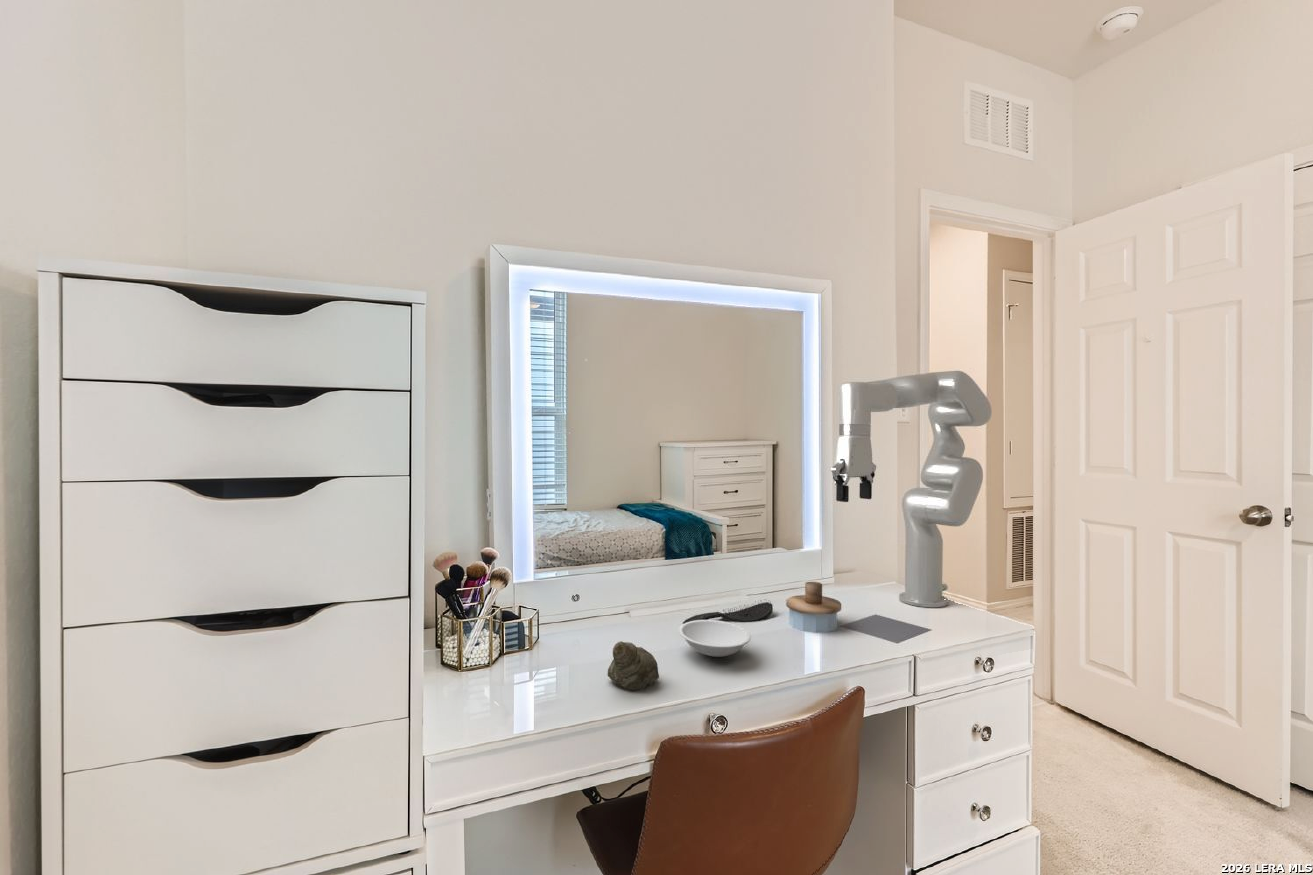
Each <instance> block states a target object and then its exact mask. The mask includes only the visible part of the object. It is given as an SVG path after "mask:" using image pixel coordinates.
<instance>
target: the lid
mask: <svg viewBox="0 0 1313 875" xmlns="http://www.w3.org/2000/svg"><path fill="white" fill-rule="evenodd" d="M804 586H805V587H804V594H798V595H792V596H790V597H788V598H787V599H786V600H785V602H786V603H785V606H786V607H787V608H788V609H791V610H794V611H797V612H801V613H807V614H820V615H822V614H833V613H837V614H838V613H839V612H840V611H842V602H841V601H839V600H837V599H835V598H831V597H828V596H823V583H822V582H817V581H806V582H804Z"/></svg>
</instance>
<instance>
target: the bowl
mask: <svg viewBox="0 0 1313 875" xmlns="http://www.w3.org/2000/svg"><path fill="white" fill-rule="evenodd" d="M788 609H789V608H788ZM788 613H789V614H788V615H789V616H788V621H789V622H788V624H789V625H790V627H792V629H795V630H799V631H802V632H807V633H814V634H815V633H816V634H820V633H821V634H822V633H830V632H833V631H836V630H837V628H838V612H837V613H833V614H822V615H820V614H807V613H801V612H797V611H794V610H791V609H789V612H788Z"/></svg>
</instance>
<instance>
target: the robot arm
mask: <svg viewBox="0 0 1313 875" xmlns="http://www.w3.org/2000/svg"><path fill="white" fill-rule="evenodd" d="M838 394H839V395H838V396H839V402H838V403H839V404H838V406H839V407H838V409H839V410H838V412H839V414H838V416H839V418H838V419H839V420H838V421H839V423H838V426H839V428H838V437H837V440H836V446H835V451H834V452H835V453H834V463H833V464H834V465H833V466H832V467H831V469H830V470H831V473H832V479H833V481H834V485H835V486H836V488H835V490H836V491H835V492H836V493H835V498H836V499H835V500H836V501H837V502H840V503H849V501H850V500H849V498H850V494H849V493H850V491H849V490H850V489H849V488H850V487H849V485H848V483H849V482H850V479H853V478H859V480H860V481H861V482H859V499H864V500H872V496H873V495H872V493H873V490H872V489H873V488H872V486H873V483H874V478H875V476H876V474H875V473H876V470H877V464H875V463H874V462H873V450H872V442H871V441H872V440H871V436H872V435H871V434H872V433H871V431H872V430H871V429H872V426H871V424H872V413H881V412H883V413H884V412H889V411H891V410H893V409H904V408H913V407H918V406H923V405H928V409H927V414H928V415H927V416H928V420H929V423H930V427H931V431H932V436H933V441H932V445H931V447H930V449H929V452H928V455H927V456H926V459H925V461H924V464H923V465H922V468H921V470H920V481H921V483H922V485H924V486H926V487H914V488H911V489H909V490H907V491H906V492H905V493H904V495H903V497H902V500H901V508H902V513H903V519H904V520H903V521H904V526H905V527H904V528H905V529H904V530H905V545H904V546H905V547H904V548H905V553H904V554H905V555H904V557H905V558H904V560H905V562H904V565H905V566H904V568H905V569H904V591H903V592H901V593H899V595H898V600H900V602H902V603H904V604H907V605H911V606H916V607H921V608H943V607H946V606H948V604H949V599H948V598H947V597H945V596H944V595H943V592H945V591H947V590H948V587H949V586H948V585H947V584H946V583H943V560H944V559H943V551H944V550H943V549H944V548H943V547H944V542H943V541H944V540H943V536H942V532H941V531H940V529H939V527H938V525H940V526H947V527H960V526H963V525H964V524H966V523H967V521H968V519H969V517H970V516H971V513H972V511H973V508H974V505H975V502H976V500H977V497H978V496H979V493H980V490H981V487H982V484H983V478H984V471H983V467H982V465H981V463H980V462H979V461H978V460H976V459H975V458H972V457H967V456H964V453H965V450H966V444H965V441H964V440H963V438H962V436H961V435H960V433H959V432H958V430H957V429H956V427H981V426H984V425H986V424H987V423H988V422H989V421H990V420H991V418H992V405H991V402H990V401H989V399H988V397H987V395H985V393H984V392H983V391H982V389H981V388H980V387H979V385H978V384H977V383H976V382H975V380H974V379H973V378H972V377H971V376H970V375H968V373H966V372H965V371H962V370H949V371H936V372H935V371H934V372H932V371H931V372H926V373H919V374H911V375H904V376H902V375H901V376H896V377H892V378H891V377H890V378H886V379H880V380H874V381H865V382H864V381H849V382H843V383H842V384H841V385H840V387H839V393H838ZM944 599H946V600H944Z"/></svg>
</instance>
